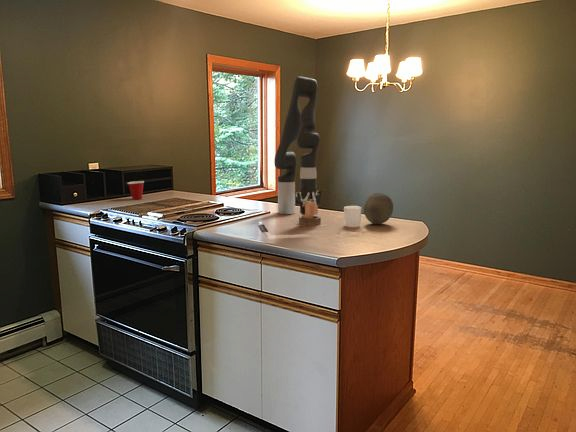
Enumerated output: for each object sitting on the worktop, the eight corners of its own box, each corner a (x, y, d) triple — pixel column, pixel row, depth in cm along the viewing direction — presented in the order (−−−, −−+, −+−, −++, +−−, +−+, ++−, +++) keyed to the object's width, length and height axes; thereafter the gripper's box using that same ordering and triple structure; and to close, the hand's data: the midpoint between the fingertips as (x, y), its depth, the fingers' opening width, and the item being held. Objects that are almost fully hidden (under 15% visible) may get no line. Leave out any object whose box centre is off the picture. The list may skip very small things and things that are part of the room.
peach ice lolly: (299, 220, 214) (299, 201, 212) (309, 219, 217) (309, 200, 215) (311, 223, 206) (311, 204, 205) (321, 222, 209) (321, 203, 208)
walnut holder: (292, 224, 219) (292, 215, 219) (320, 223, 222) (320, 214, 221) (297, 230, 206) (297, 220, 205) (328, 229, 208) (328, 219, 207)
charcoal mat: (258, 225, 217) (258, 224, 216) (283, 224, 219) (283, 223, 219) (262, 231, 203) (262, 230, 203) (289, 230, 205) (289, 229, 205)
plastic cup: (128, 198, 312) (127, 181, 310) (145, 197, 315) (144, 180, 313) (128, 200, 302) (126, 182, 300) (145, 200, 305) (144, 182, 303)
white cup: (359, 227, 213) (359, 205, 211) (362, 230, 205) (363, 208, 204) (342, 227, 213) (342, 205, 211) (344, 230, 205) (345, 208, 203)
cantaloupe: (357, 223, 222) (358, 192, 220) (382, 221, 227) (383, 191, 225) (372, 228, 209) (373, 195, 207) (399, 226, 214) (400, 194, 212)
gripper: (315, 175, 217) (315, 211, 219) (290, 177, 209) (290, 214, 212) (325, 177, 210) (325, 213, 213) (300, 178, 203) (300, 216, 205)
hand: (308, 213), depth 212 cm, fingers closed on peach ice lolly, 5 cm apart
